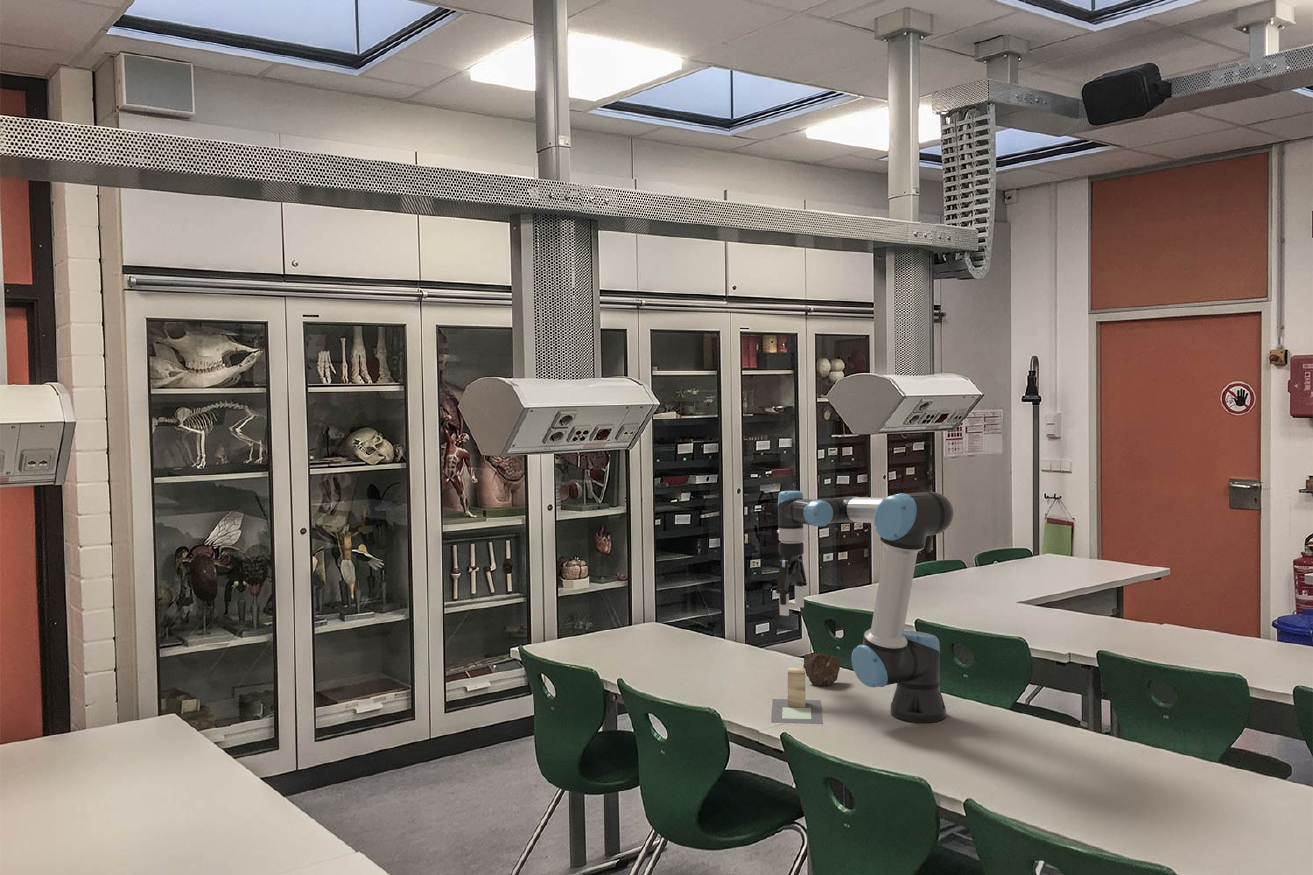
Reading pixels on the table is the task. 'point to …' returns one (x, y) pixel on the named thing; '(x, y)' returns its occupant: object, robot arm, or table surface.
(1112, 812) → the table surface
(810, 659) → the rock
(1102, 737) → the table surface
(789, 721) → the rubber mat
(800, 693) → the beech block
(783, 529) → the robot arm
